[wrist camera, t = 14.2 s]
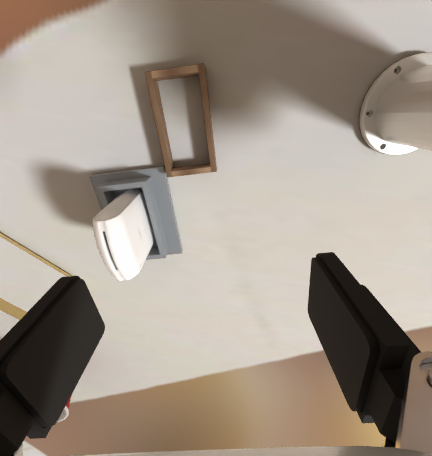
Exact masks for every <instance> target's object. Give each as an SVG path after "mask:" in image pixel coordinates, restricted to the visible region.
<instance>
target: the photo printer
mask: <svg viewBox="0 0 432 456" xmlns="http://www.w3.org/2000/svg"><path fill="white" fill-rule="evenodd" d="M93 231H94V236H95V240H96V243H97V247H98V250H99V253H100V255H101V257H102V259H103V262H104V264H105V265H106V267H107V269H108V270H109V272H110V273H111V275H112V276H113V277H114V278H115V279H116V280H118V281H122V280H129V279H131V278H133V277H135V276H136V275H137V274H138V273H139V272H140V270H141V268H142V266H143V264H144V262H145V260H146V258H147V256H148V254H149V252H150V249H151V247H152V245H153V243H154V240H155V235H154V230H153V226H152V223H151V219H150V215H149V211H148V208H147V204H146V200H145V197H144V195H143V193H142V191H139V190H136V189H129V190H126V191H125V192H124V193H122V194H120V195H119V196H118V197H116V198H115V199H114V200H113V201H112V202H111V203H110V204H108V205H107V206H106V207H105V208H104V209H103V210H101V211H100V212H99V213H98V214H97V215H96V216H95V217H94V218H93Z"/></svg>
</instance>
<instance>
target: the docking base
mask: <svg viewBox="0 0 432 456" xmlns="http://www.w3.org/2000/svg"><path fill="white" fill-rule="evenodd" d="M90 178H91V181H92V184H93V187H94V189H95V192H96V195H97V198H98V200H99V203H100V206H101V209H102V210H103V209H104V208H105V207H106V206H107V205H108V204H110V203H111V202H112V201H113V200H114V199H115V198H116V197H118V196H119V195H120V194H122V193H124V192H125V191H126V190H129V189H136V190H139V191H142V193H143V195H144V197H145V200H146V204H147V208H148V211H149V215H150V219H151V223H152V226H153V230H154V235H155V240H154V243H153V245H152V247H151V249H150V252H149V254H148V256H147V258H146V260H149V259H160V258H166V255H168V254H179V253H182V246H181V241H180V236H179V232H178V227H177V222H176V218H175V213H174V208H173V204H172V199H171V194H170V190H169V185H168V180H167V176H166V171H165V166H160V167H152V168H143V169H135V170H127V171H118V172H110V173H102V174H93V175H91V176H90Z"/></svg>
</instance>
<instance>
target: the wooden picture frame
mask: <svg viewBox="0 0 432 456" xmlns="http://www.w3.org/2000/svg"><path fill="white" fill-rule="evenodd" d="M145 75H146V80H147V85H148V89H149V94H150V99H151V103H152V108H153V113H154V118H155V122H156V127H157V132H158V136H159V141H160V146H161V150H162V155H163V160H164V164H165V169H166V174H167V177H174V176H183V175H191V174H200V173H208V172H217V167H216V158H215V150H214V141H213V132H212V124H211V115H210V107H209V98H208V89H207V81H206V72H205V66H204V63H203V64H196V65H189V66H183V67H176V68H169V69H162V70H155V71H149V72H145ZM195 75H199V80H200V88H201V96H202V103H203V111H204V119H205V127H206V135H207V143H208V151H209V158H210V164H204V165H195V166H187V167H178V168H174V165H173V159H172V154H171V149H170V144H169V139H168V134H167V129H166V124H165V119H164V114H163V109H162V104H161V98H160V93H159V88H158V83H157V81H160V80H167V79H174V78H181V77H188V76H195Z"/></svg>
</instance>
